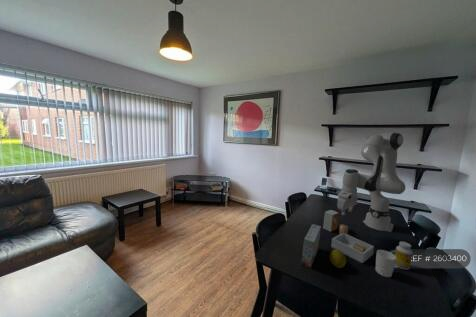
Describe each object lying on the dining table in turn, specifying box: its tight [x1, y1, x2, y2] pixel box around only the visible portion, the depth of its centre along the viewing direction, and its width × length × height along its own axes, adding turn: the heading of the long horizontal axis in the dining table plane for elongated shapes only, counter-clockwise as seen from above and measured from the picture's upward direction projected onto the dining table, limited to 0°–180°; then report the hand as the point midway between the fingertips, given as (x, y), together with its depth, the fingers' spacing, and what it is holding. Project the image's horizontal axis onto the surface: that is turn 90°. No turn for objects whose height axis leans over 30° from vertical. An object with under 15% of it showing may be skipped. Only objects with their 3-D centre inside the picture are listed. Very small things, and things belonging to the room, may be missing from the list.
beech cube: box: [353, 243, 366, 253], centre depth 112 cm, size 5×5×5 cm
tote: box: [330, 233, 375, 264], centre depth 115 cm, size 18×14×6 cm
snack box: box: [301, 223, 322, 269], centre depth 108 cm, size 21×6×15 cm, turn 148°
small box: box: [322, 209, 339, 233], centre depth 141 cm, size 8×6×13 cm
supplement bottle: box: [394, 241, 413, 271], centre depth 103 cm, size 7×7×13 cm
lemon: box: [329, 249, 347, 269], centre depth 102 cm, size 11×8×8 cm
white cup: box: [374, 249, 396, 278], centre depth 97 cm, size 8×8×10 cm
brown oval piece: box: [338, 223, 349, 235], centre depth 133 cm, size 5×5×7 cm
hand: (346, 213), depth 130 cm, fingers open, 8 cm apart
